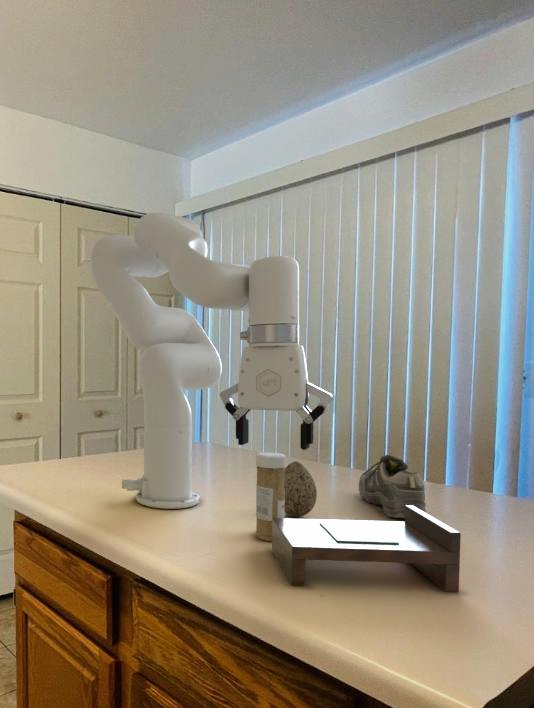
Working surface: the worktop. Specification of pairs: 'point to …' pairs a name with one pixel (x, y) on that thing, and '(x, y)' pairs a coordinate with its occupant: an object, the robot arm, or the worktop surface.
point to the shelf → (370, 545)
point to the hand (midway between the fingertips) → (273, 446)
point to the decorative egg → (298, 490)
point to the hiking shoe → (392, 487)
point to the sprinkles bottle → (269, 491)
